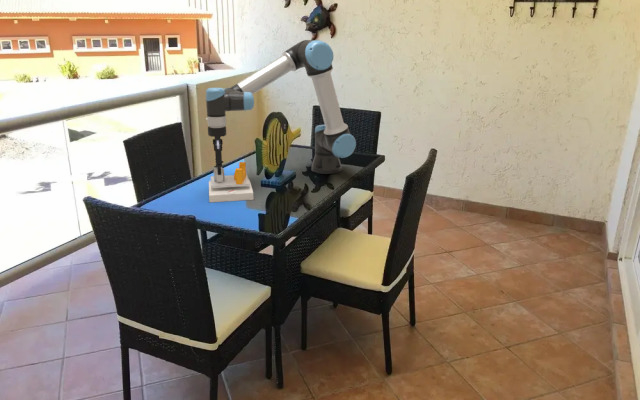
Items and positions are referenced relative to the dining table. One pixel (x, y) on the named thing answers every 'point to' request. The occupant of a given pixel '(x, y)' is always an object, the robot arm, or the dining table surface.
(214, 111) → the robot arm
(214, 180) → the block
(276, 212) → the dining table surface
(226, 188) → the scale
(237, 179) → the pipe clamp
